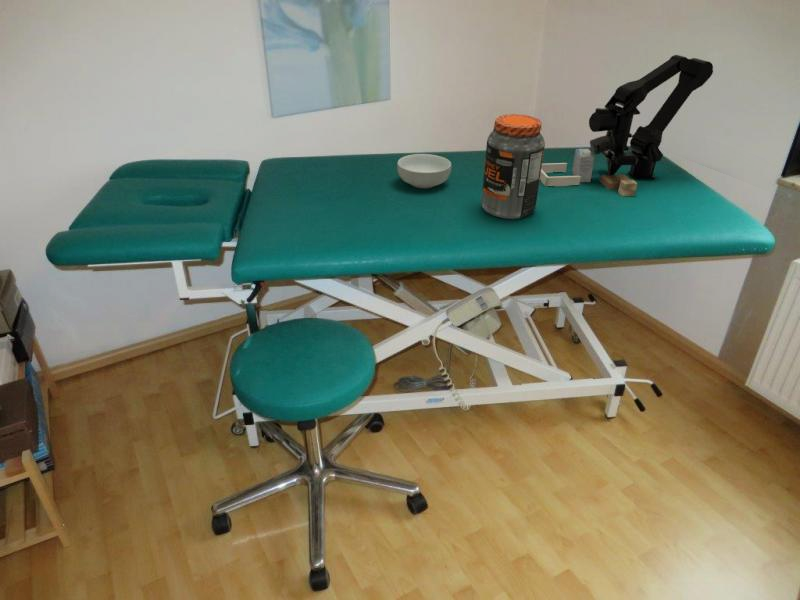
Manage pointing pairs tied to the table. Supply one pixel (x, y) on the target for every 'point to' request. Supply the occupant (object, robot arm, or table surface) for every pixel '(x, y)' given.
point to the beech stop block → (627, 188)
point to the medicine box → (583, 164)
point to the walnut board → (612, 180)
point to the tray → (559, 179)
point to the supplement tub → (513, 166)
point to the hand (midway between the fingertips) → (610, 176)
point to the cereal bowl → (424, 170)
